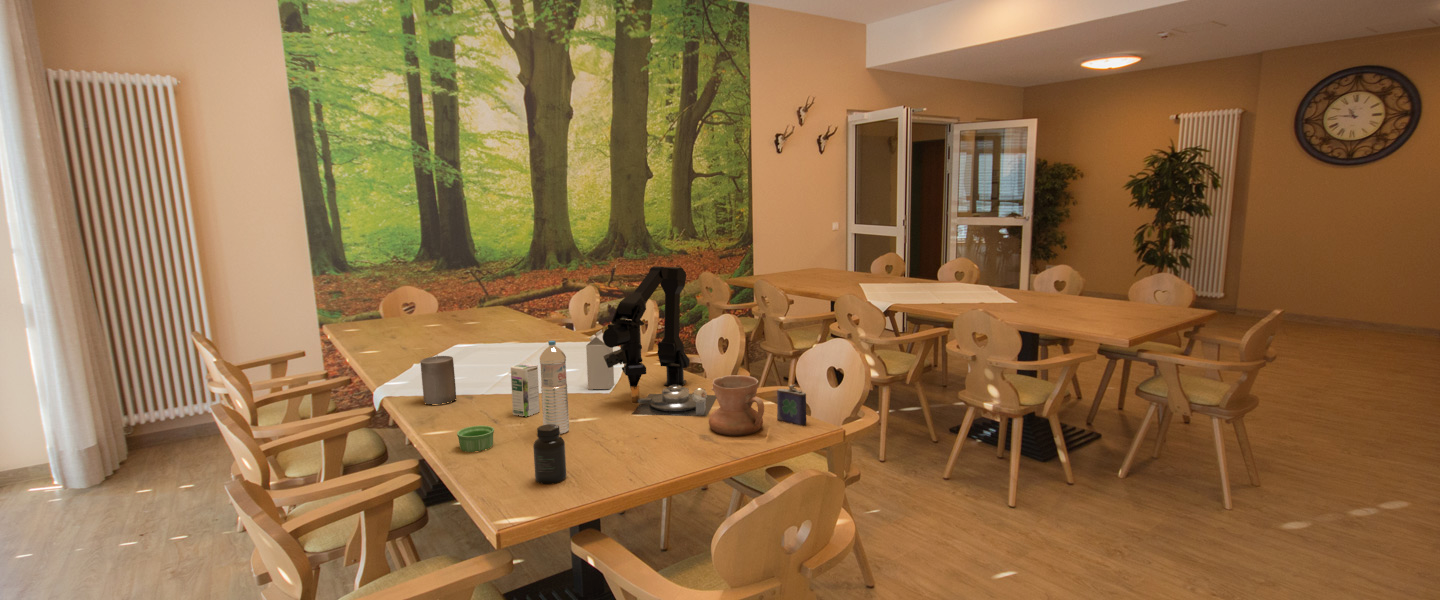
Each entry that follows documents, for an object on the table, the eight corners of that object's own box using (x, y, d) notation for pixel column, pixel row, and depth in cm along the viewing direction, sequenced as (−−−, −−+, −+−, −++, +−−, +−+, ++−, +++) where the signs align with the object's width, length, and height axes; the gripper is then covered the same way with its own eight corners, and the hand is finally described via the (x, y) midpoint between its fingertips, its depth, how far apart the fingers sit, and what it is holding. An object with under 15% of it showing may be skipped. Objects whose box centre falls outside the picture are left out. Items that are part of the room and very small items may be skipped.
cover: (665, 396, 219) (665, 382, 219) (691, 396, 218) (691, 383, 217) (659, 403, 211) (659, 389, 211) (686, 404, 210) (685, 390, 210)
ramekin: (466, 441, 188) (465, 425, 187) (500, 441, 187) (499, 425, 187) (452, 453, 179) (451, 436, 178) (487, 453, 179) (486, 436, 178)
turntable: (638, 395, 224) (637, 379, 223) (706, 396, 221) (706, 380, 221) (624, 410, 208) (624, 393, 208) (698, 411, 206) (698, 395, 205)
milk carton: (614, 384, 243) (612, 329, 240) (609, 390, 236) (606, 333, 233) (593, 384, 243) (591, 329, 241) (587, 390, 236) (585, 333, 234)
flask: (775, 420, 201) (775, 383, 199) (781, 418, 203) (781, 381, 201) (803, 427, 195) (803, 388, 193) (809, 424, 197) (809, 386, 196)
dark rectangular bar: (694, 412, 206) (694, 385, 205) (708, 413, 205) (708, 385, 204) (692, 416, 203) (692, 388, 201) (706, 416, 202) (706, 389, 201)
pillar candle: (457, 396, 232) (453, 350, 230) (456, 403, 223) (452, 356, 221) (424, 399, 229) (420, 353, 227) (422, 407, 220) (418, 359, 218)
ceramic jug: (694, 431, 193) (693, 379, 190) (732, 418, 203) (732, 369, 200) (742, 448, 180) (741, 393, 178) (780, 434, 190) (780, 382, 187)
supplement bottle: (545, 471, 166) (542, 421, 164) (571, 474, 164) (569, 423, 162) (529, 483, 159) (526, 431, 157) (556, 486, 157) (554, 433, 155)
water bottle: (560, 426, 199) (556, 337, 196) (574, 431, 194) (570, 340, 191) (538, 431, 194) (533, 341, 191) (552, 437, 189) (547, 344, 186)
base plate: (649, 396, 227) (649, 393, 227) (718, 398, 224) (718, 395, 224) (631, 417, 205) (630, 414, 205) (706, 419, 202) (706, 416, 202)
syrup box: (512, 415, 210) (509, 366, 208) (526, 409, 215) (523, 362, 213) (526, 417, 207) (524, 368, 205) (540, 412, 212) (538, 364, 210)
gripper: (602, 337, 226) (604, 385, 228) (607, 349, 208) (609, 401, 210) (637, 335, 229) (638, 383, 231) (645, 346, 211) (647, 398, 213)
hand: (633, 391), depth 221 cm, fingers closed
